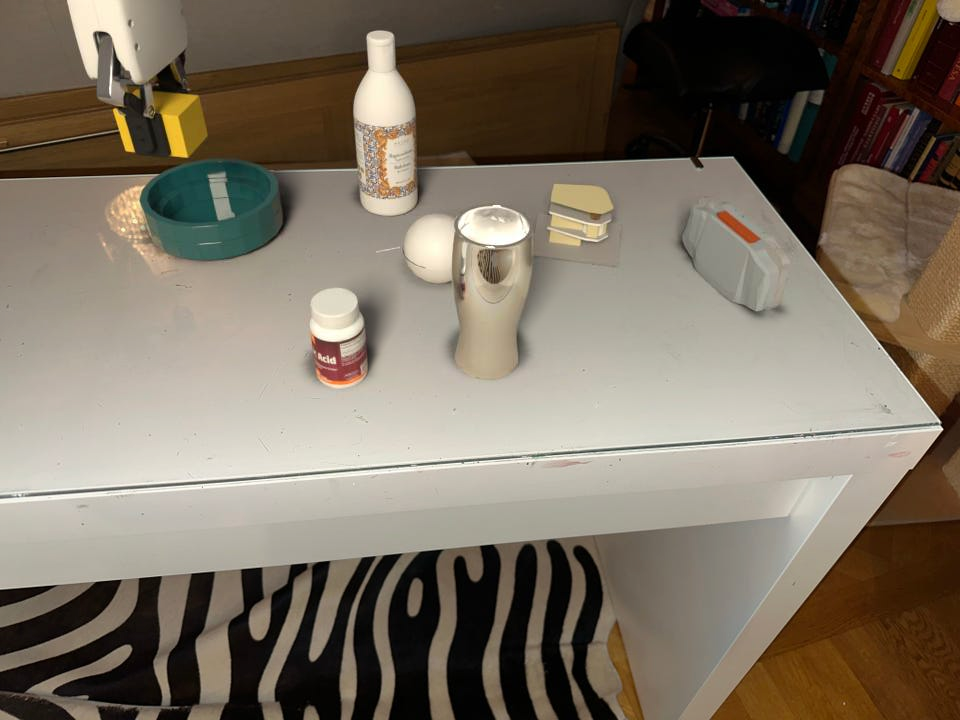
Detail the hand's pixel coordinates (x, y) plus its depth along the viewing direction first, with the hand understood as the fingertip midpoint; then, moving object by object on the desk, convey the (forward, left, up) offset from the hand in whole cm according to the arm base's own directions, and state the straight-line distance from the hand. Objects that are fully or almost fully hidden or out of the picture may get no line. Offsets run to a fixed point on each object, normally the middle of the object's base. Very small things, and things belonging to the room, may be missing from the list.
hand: (166, 139), depth 70 cm
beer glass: (+32, -8, -15) cm, 36 cm away
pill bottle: (+19, -12, -15) cm, 27 cm away
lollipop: (+24, +4, -15) cm, 28 cm away
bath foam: (+17, +18, -15) cm, 29 cm away
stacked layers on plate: (+40, +14, -15) cm, 45 cm away
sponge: (0, 0, 0) cm, 0 cm away
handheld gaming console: (+56, +8, -15) cm, 58 cm away
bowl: (-1, +9, -15) cm, 18 cm away
